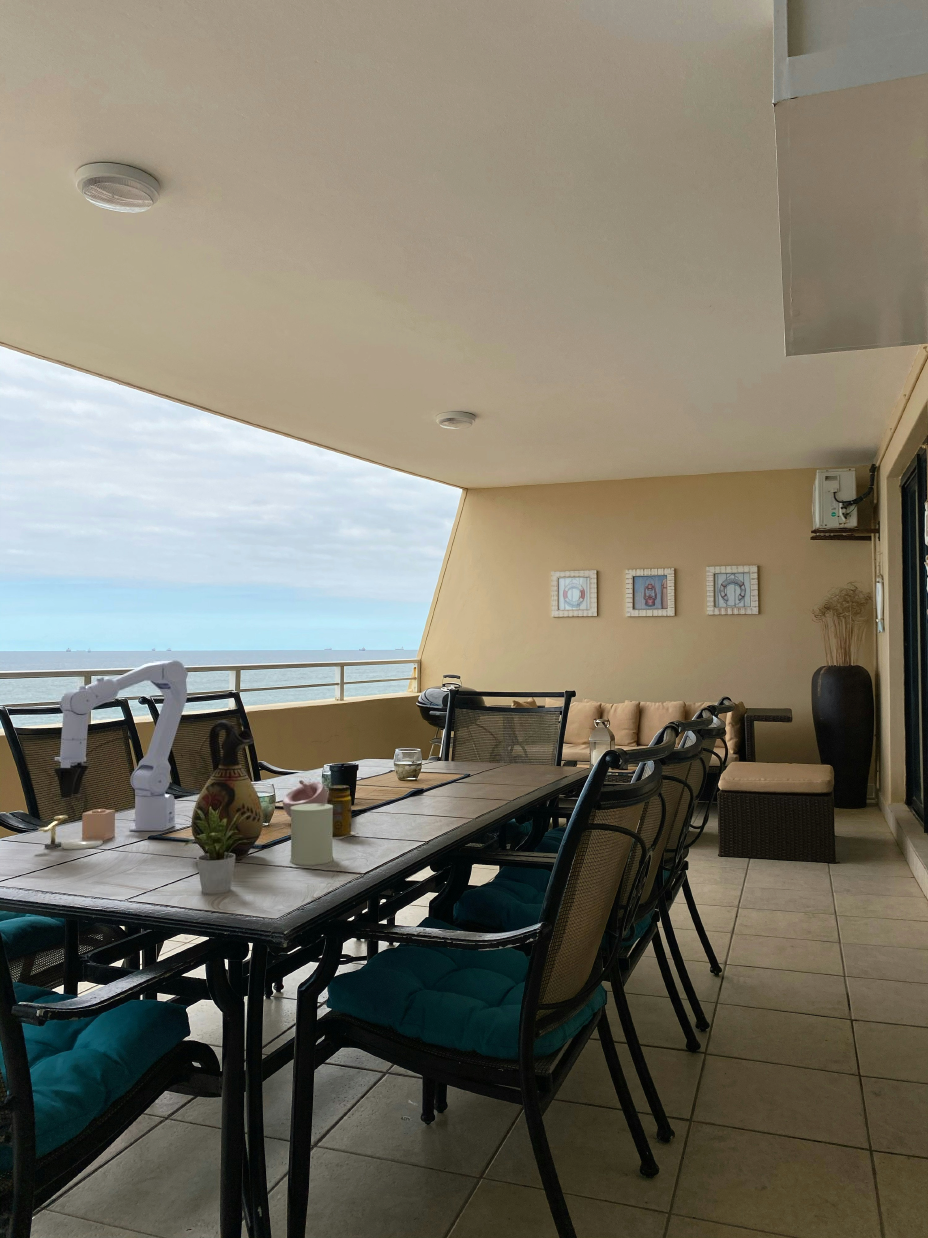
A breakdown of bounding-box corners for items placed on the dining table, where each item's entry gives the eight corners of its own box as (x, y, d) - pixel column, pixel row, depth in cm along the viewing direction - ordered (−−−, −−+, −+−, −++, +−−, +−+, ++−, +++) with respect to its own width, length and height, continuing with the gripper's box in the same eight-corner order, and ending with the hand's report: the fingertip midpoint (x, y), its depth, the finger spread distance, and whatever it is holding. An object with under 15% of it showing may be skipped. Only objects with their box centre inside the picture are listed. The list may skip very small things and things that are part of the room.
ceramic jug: (278, 855, 195) (278, 720, 197) (223, 869, 182) (224, 724, 184) (226, 847, 205) (227, 718, 206) (171, 859, 192) (172, 722, 193)
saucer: (109, 841, 212) (109, 838, 212) (91, 849, 203) (91, 846, 203) (72, 841, 212) (72, 838, 212) (53, 849, 203) (53, 846, 204)
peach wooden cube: (114, 836, 219) (115, 808, 219) (104, 840, 213) (104, 812, 214) (92, 836, 219) (93, 808, 219) (82, 840, 214) (82, 812, 214)
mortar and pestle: (273, 823, 235) (273, 780, 235) (306, 817, 244) (306, 775, 245) (303, 828, 228) (303, 783, 228) (337, 821, 237) (337, 778, 238)
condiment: (358, 833, 220) (357, 785, 221) (340, 839, 212) (340, 789, 213) (333, 831, 223) (333, 783, 223) (314, 837, 215) (314, 788, 216)
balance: (57, 843, 211) (57, 815, 211) (69, 843, 211) (70, 815, 211) (35, 851, 201) (35, 823, 201) (48, 851, 201) (48, 823, 201)
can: (342, 858, 191) (341, 803, 192) (314, 867, 183) (314, 809, 184) (309, 854, 196) (309, 800, 196) (281, 862, 188) (281, 806, 189)
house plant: (154, 892, 163) (154, 804, 164) (212, 877, 175) (213, 795, 176) (205, 903, 156) (205, 811, 156) (263, 887, 167) (263, 800, 168)
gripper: (63, 738, 221) (59, 792, 220) (48, 740, 207) (44, 799, 205) (93, 738, 222) (89, 793, 221) (80, 741, 208) (76, 799, 207)
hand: (70, 796), depth 213 cm, fingers open, 7 cm apart
